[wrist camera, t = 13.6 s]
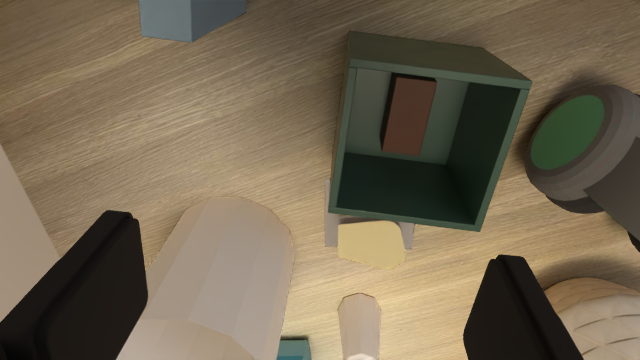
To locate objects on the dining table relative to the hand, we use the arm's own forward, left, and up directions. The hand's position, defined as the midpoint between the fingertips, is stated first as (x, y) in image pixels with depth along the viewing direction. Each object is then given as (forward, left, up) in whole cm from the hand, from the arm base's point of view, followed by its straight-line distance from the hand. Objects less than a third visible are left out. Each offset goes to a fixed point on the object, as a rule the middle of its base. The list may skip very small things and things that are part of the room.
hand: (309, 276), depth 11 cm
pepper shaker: (+31, +7, -32) cm, 45 cm away
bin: (+4, +7, -31) cm, 32 cm away
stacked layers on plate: (+17, +6, -32) cm, 37 cm away
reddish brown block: (+4, +7, -31) cm, 32 cm away
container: (+24, -9, -32) cm, 41 cm away
